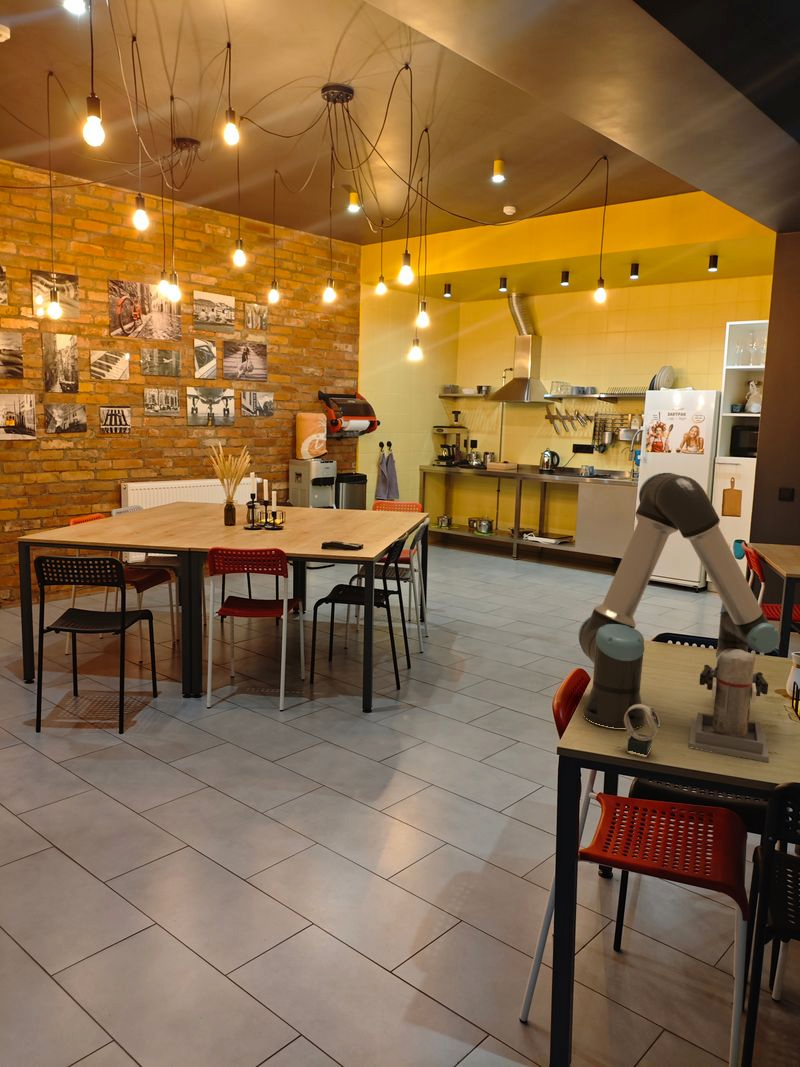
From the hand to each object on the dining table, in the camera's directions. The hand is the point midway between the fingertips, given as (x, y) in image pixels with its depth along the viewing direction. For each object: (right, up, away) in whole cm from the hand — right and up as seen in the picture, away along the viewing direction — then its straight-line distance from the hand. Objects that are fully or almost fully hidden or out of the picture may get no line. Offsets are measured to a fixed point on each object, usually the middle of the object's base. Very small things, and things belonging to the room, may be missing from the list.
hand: (733, 694), depth 182 cm
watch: (-22, -13, -2) cm, 26 cm away
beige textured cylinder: (+1, -10, +6) cm, 12 cm away
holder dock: (+1, -13, +6) cm, 14 cm away
